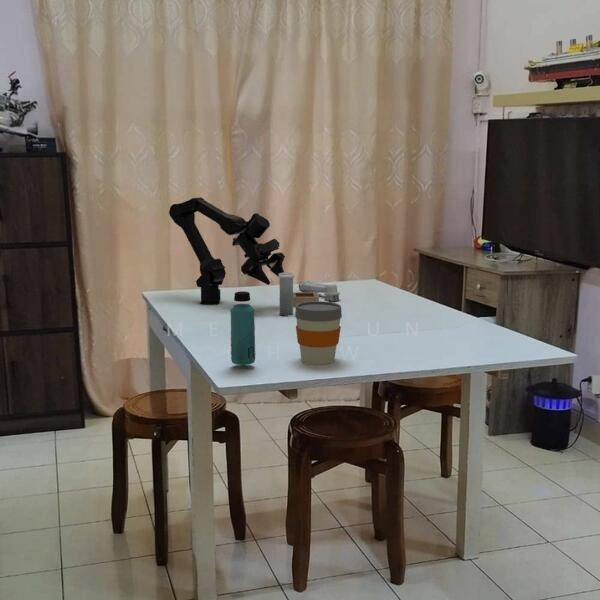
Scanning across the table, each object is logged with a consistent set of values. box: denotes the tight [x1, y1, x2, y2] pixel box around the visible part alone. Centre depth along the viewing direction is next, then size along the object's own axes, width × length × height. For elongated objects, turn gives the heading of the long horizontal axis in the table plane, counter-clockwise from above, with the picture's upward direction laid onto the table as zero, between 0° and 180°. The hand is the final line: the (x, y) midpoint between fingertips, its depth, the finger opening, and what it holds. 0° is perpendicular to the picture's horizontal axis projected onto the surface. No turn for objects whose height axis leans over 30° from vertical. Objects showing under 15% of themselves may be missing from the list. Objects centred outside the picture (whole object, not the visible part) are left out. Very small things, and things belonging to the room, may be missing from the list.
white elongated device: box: [298, 280, 341, 302], centre depth 301 cm, size 5×7×25 cm
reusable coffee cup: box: [294, 300, 343, 366], centre depth 214 cm, size 13×13×15 cm
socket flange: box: [293, 291, 320, 307], centre depth 285 cm, size 10×10×4 cm
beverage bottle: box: [229, 291, 257, 366], centre depth 207 cm, size 6×7×20 cm
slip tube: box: [278, 272, 295, 317], centre depth 268 cm, size 5×5×14 cm
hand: (277, 282), depth 270 cm, fingers open, 9 cm apart
